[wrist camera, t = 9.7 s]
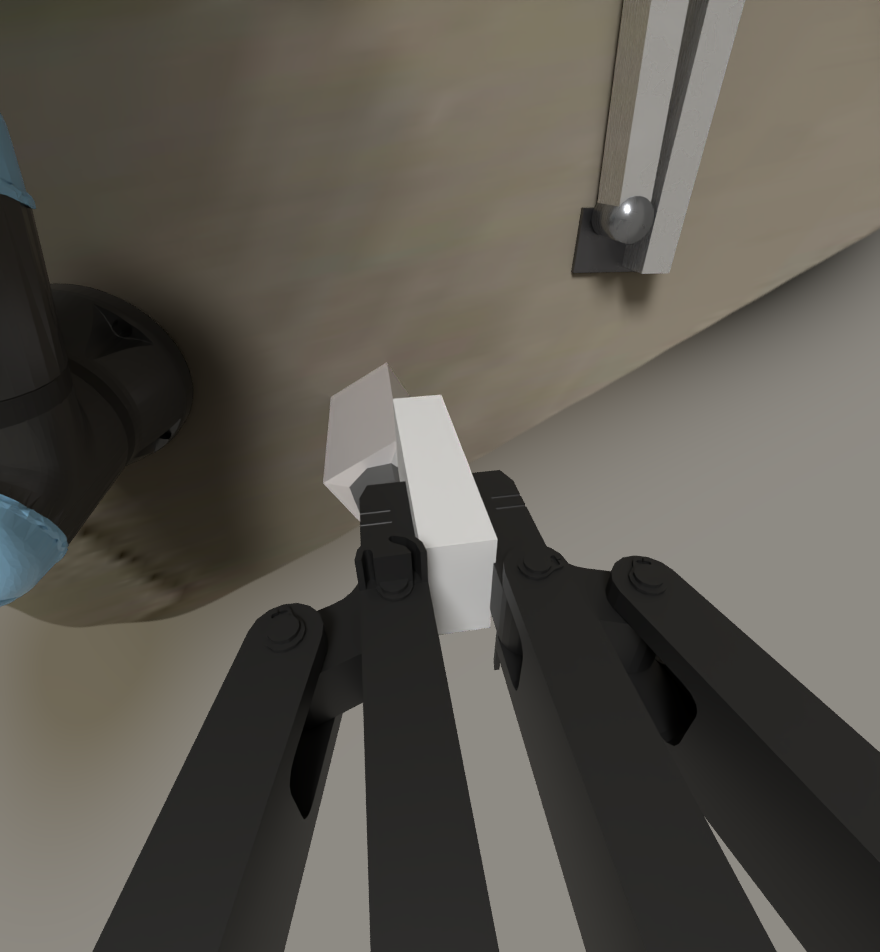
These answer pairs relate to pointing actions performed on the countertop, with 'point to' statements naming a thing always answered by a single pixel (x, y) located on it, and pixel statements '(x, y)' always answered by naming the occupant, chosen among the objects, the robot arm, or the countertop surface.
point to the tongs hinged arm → (638, 116)
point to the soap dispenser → (362, 437)
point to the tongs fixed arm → (673, 145)
